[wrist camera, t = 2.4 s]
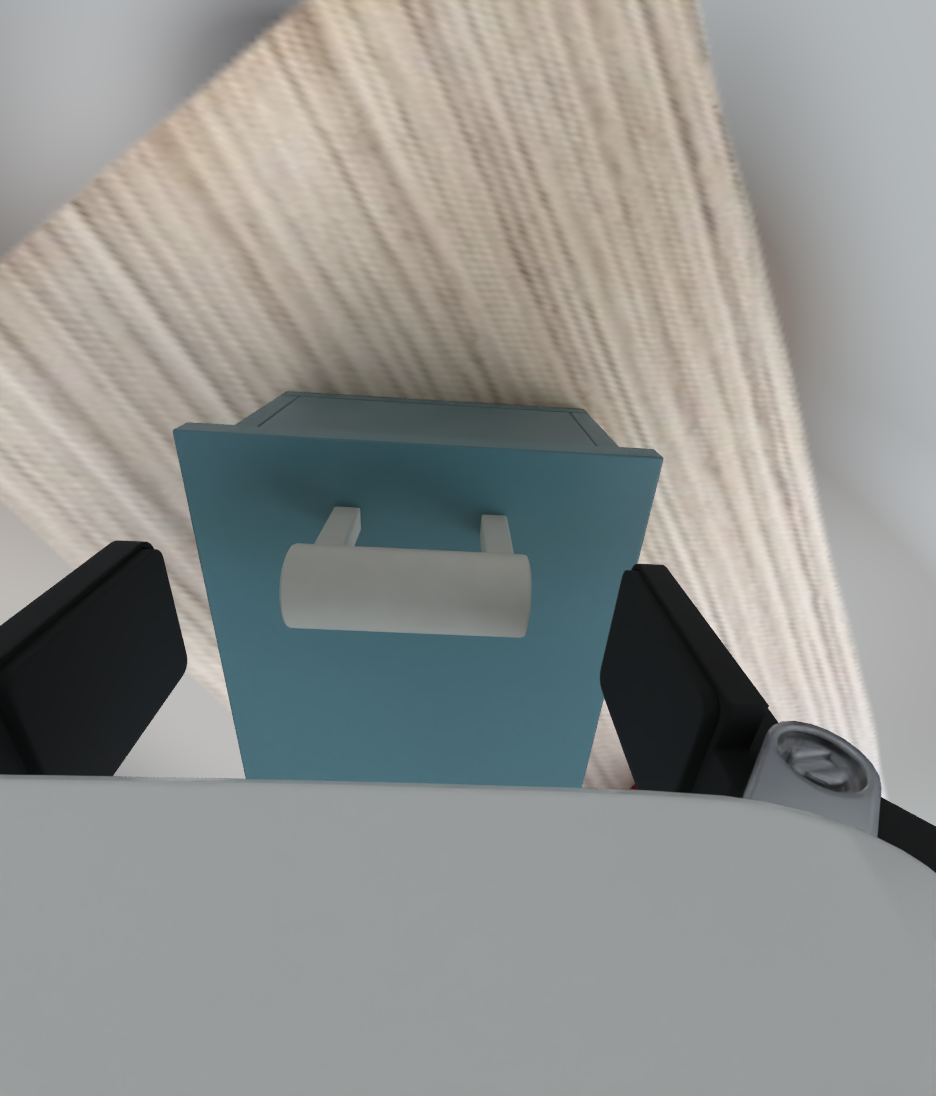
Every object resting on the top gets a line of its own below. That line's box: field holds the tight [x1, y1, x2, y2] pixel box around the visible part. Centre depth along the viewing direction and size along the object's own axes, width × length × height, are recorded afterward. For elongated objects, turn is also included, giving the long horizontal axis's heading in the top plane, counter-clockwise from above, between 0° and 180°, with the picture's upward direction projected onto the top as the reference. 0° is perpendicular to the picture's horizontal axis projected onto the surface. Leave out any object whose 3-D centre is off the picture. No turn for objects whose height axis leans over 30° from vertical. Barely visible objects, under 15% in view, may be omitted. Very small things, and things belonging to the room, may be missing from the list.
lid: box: [173, 422, 663, 788], centre depth 15 cm, size 15×13×5 cm
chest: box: [236, 391, 618, 447], centre depth 21 cm, size 15×13×8 cm
